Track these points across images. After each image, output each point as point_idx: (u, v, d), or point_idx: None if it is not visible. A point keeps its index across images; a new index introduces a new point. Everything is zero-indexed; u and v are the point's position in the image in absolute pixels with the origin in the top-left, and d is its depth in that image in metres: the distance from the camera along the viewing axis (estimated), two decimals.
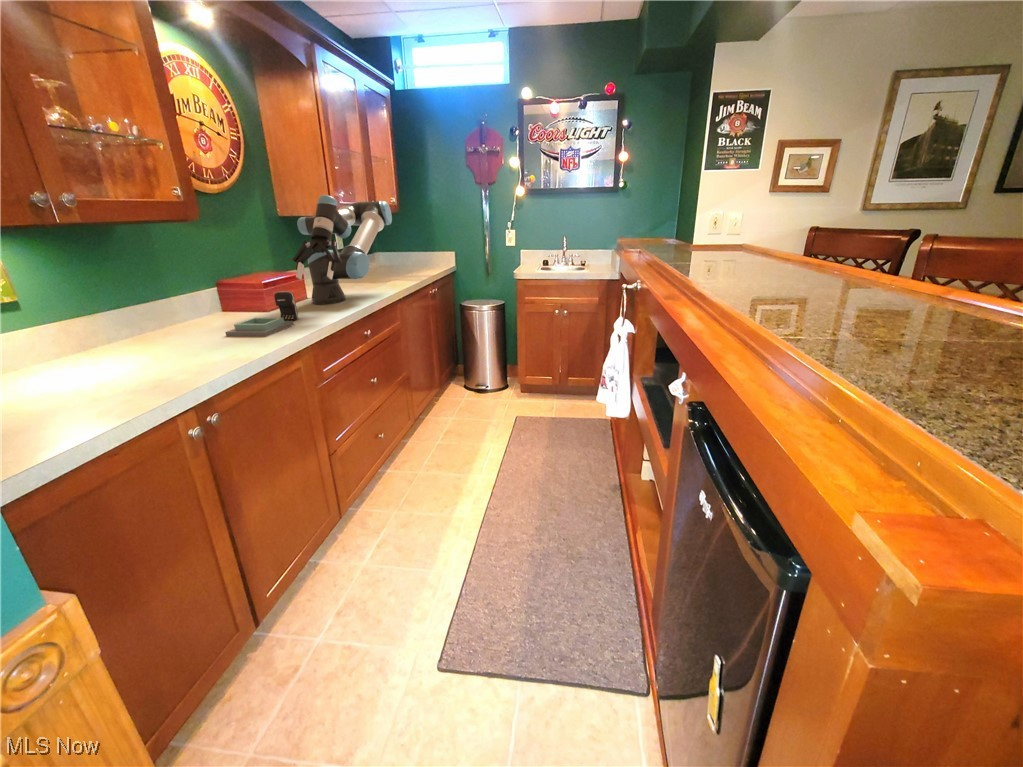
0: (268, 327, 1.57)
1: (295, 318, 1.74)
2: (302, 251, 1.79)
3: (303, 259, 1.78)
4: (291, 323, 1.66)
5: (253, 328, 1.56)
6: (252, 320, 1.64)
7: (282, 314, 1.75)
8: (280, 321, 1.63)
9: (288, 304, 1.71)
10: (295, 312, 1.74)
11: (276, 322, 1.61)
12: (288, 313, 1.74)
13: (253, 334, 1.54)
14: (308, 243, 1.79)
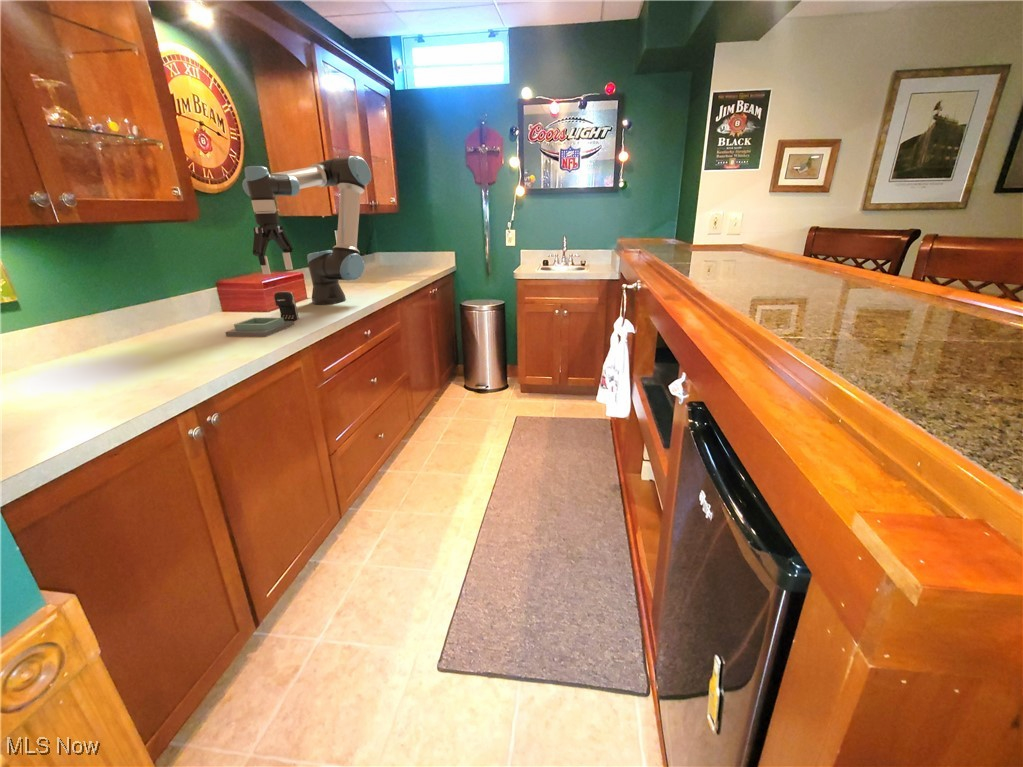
0: (268, 327, 1.57)
1: (295, 318, 1.74)
2: (281, 238, 1.70)
3: (282, 248, 1.71)
4: (291, 323, 1.66)
5: (253, 328, 1.56)
6: (252, 320, 1.64)
7: (282, 314, 1.75)
8: (280, 321, 1.63)
9: (288, 304, 1.71)
10: (295, 312, 1.74)
11: (276, 322, 1.61)
12: (288, 313, 1.74)
13: (253, 334, 1.54)
14: None
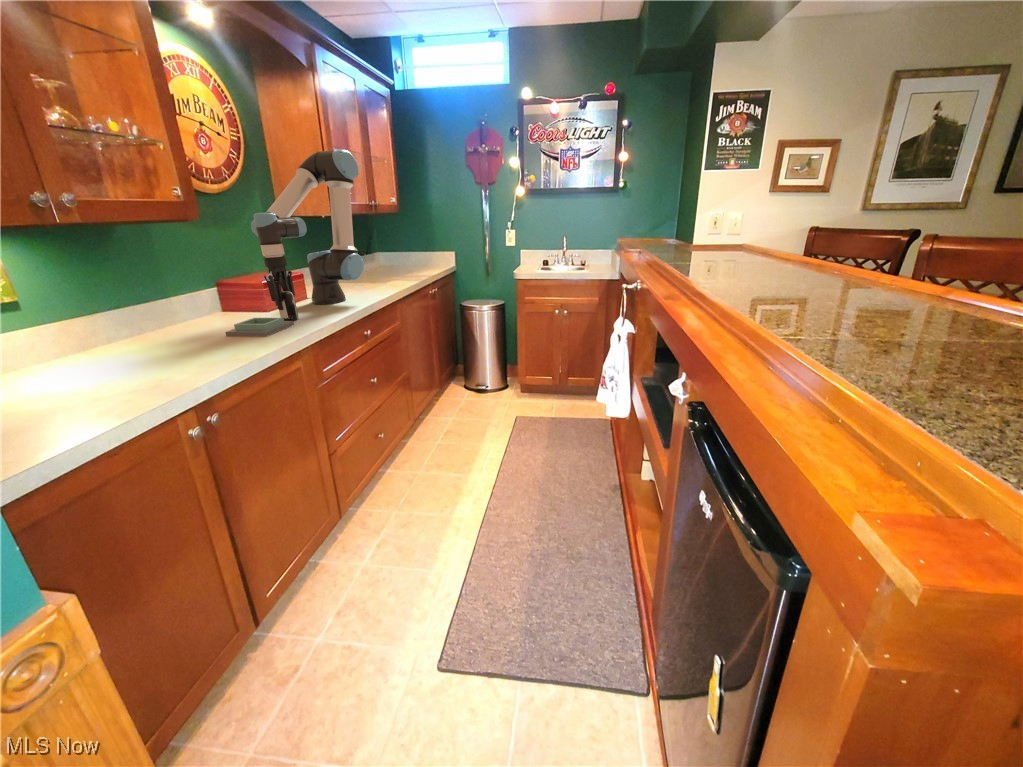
0: (268, 327, 1.57)
1: (295, 318, 1.74)
2: None
3: None
4: (291, 323, 1.66)
5: (253, 328, 1.56)
6: (252, 320, 1.64)
7: None
8: (280, 321, 1.63)
9: (288, 304, 1.71)
10: (295, 312, 1.74)
11: (276, 322, 1.61)
12: (288, 313, 1.74)
13: (253, 334, 1.54)
14: None
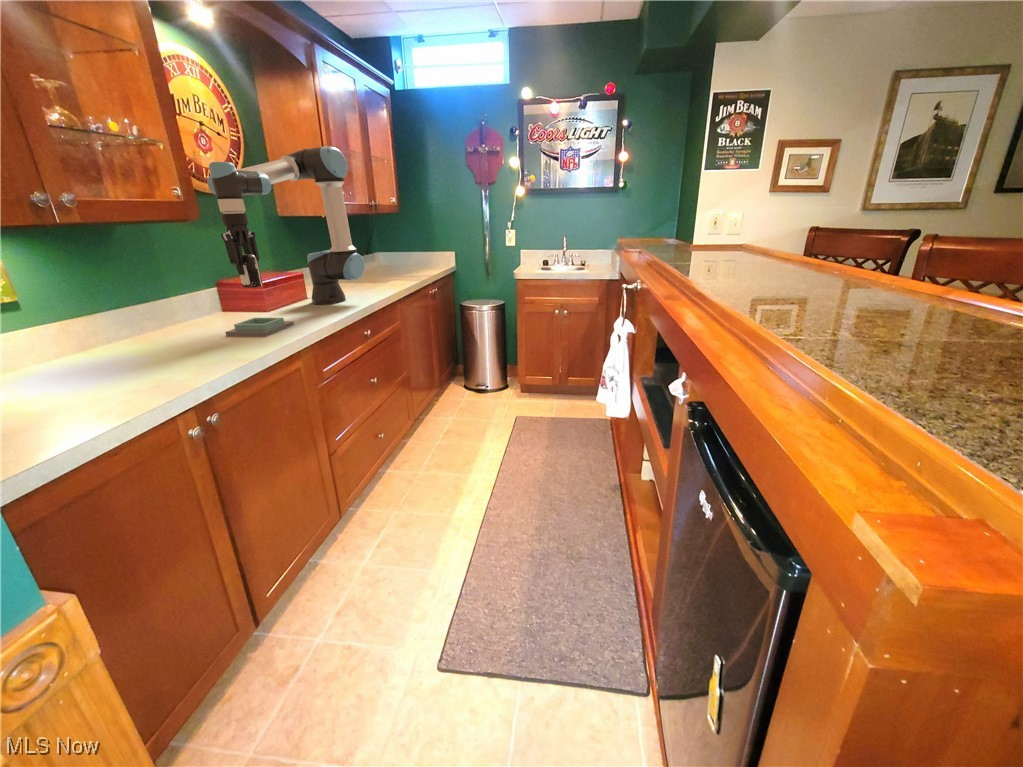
0: (268, 327, 1.57)
1: (258, 285, 1.56)
2: (249, 245, 1.56)
3: None
4: (291, 323, 1.66)
5: (253, 328, 1.56)
6: (252, 320, 1.64)
7: None
8: (280, 321, 1.63)
9: (250, 268, 1.52)
10: (258, 278, 1.55)
11: (276, 322, 1.61)
12: (251, 279, 1.56)
13: (253, 334, 1.54)
14: None
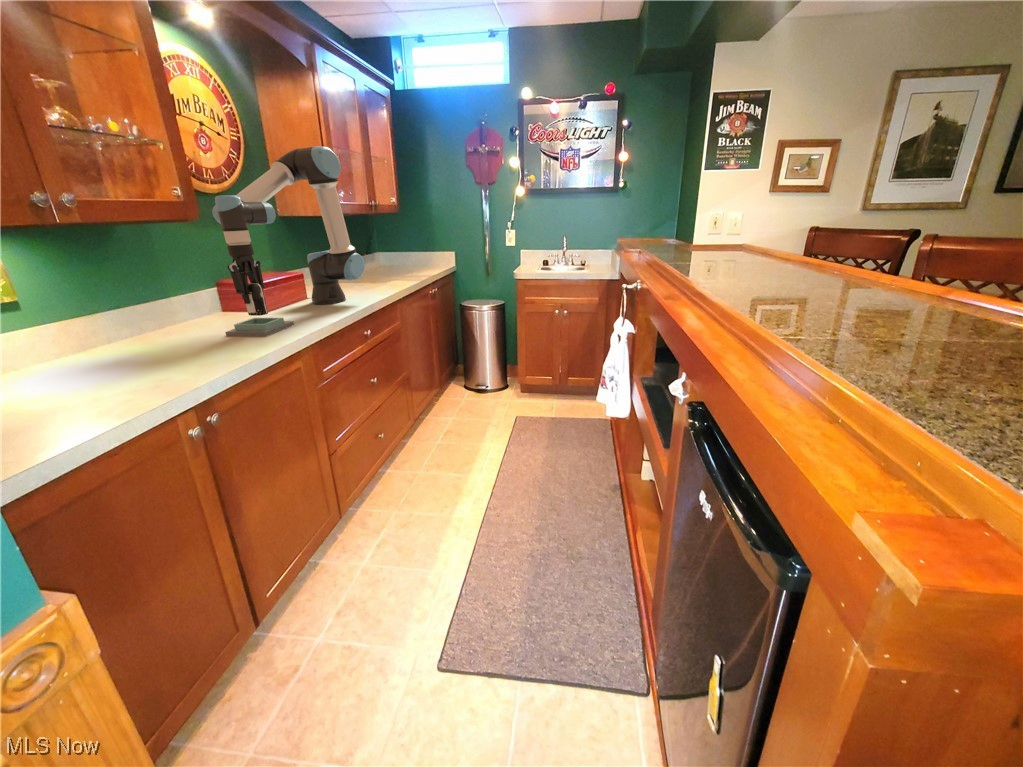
0: (268, 327, 1.57)
1: (264, 313, 1.59)
2: (254, 274, 1.59)
3: None
4: (291, 323, 1.66)
5: (253, 328, 1.56)
6: (252, 320, 1.64)
7: None
8: (280, 321, 1.63)
9: (255, 297, 1.55)
10: (264, 306, 1.58)
11: (276, 322, 1.61)
12: (256, 307, 1.59)
13: (253, 334, 1.54)
14: None
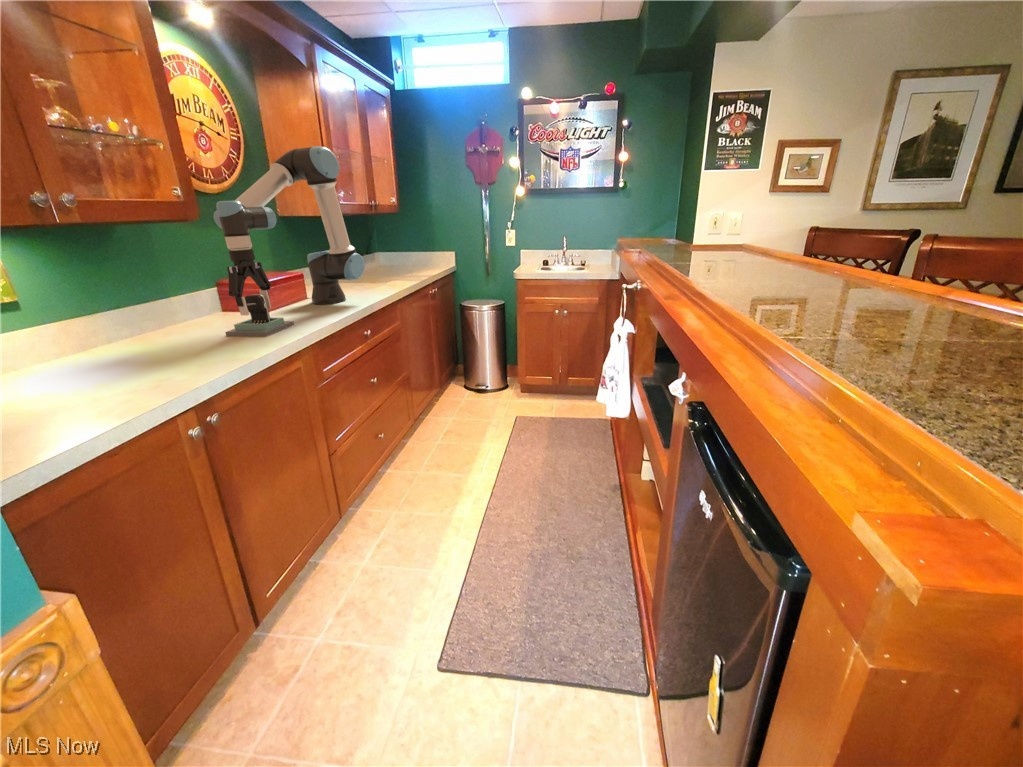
0: (268, 327, 1.57)
1: None
2: (258, 275, 1.61)
3: (259, 285, 1.61)
4: (291, 323, 1.66)
5: (253, 328, 1.56)
6: None
7: (253, 319, 1.61)
8: (280, 321, 1.63)
9: (259, 308, 1.57)
10: (267, 317, 1.60)
11: (276, 322, 1.61)
12: (260, 318, 1.60)
13: (253, 334, 1.54)
14: None
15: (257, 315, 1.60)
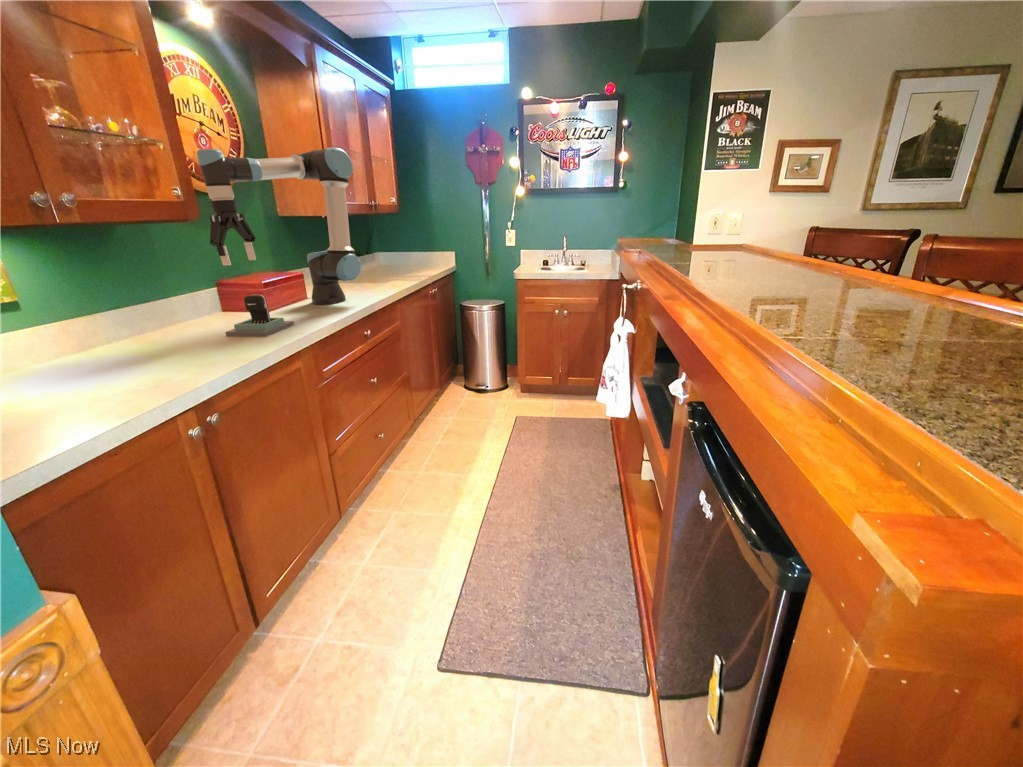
0: (268, 327, 1.57)
1: None
2: (242, 227, 1.61)
3: (244, 237, 1.62)
4: (291, 323, 1.66)
5: (253, 328, 1.56)
6: None
7: (253, 319, 1.61)
8: (280, 321, 1.63)
9: (259, 309, 1.57)
10: (267, 317, 1.60)
11: (276, 322, 1.61)
12: (260, 318, 1.60)
13: (253, 334, 1.54)
14: None
15: (257, 315, 1.60)
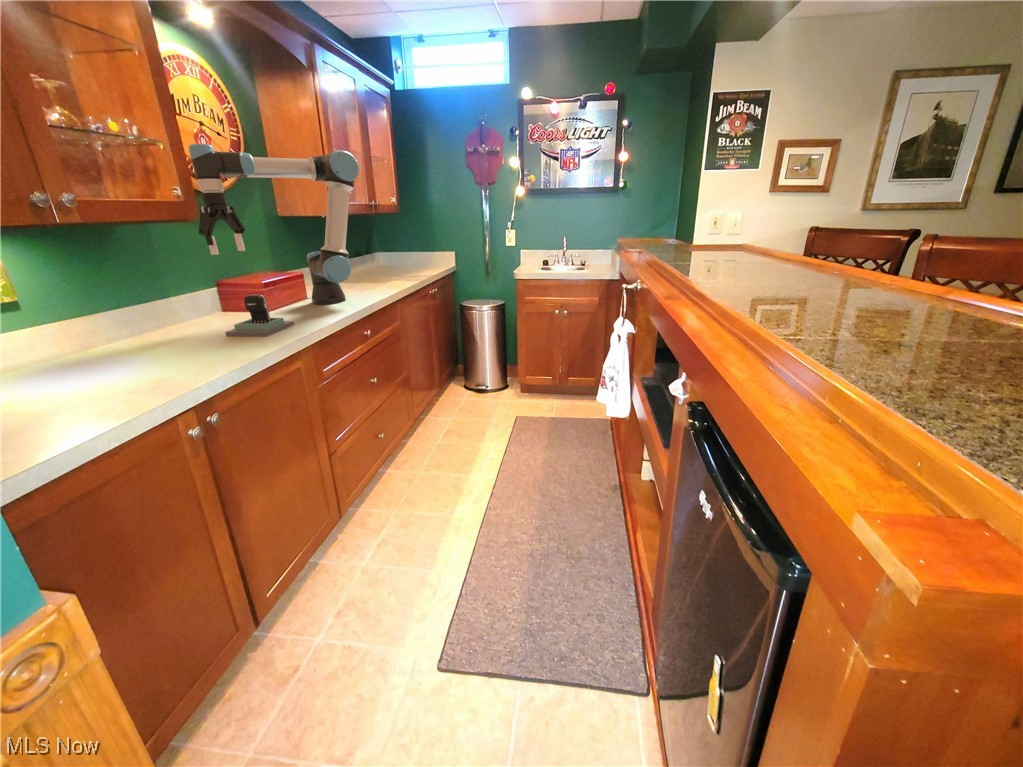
0: (268, 327, 1.57)
1: None
2: (232, 219, 1.69)
3: (233, 228, 1.70)
4: (291, 323, 1.66)
5: (253, 328, 1.56)
6: None
7: (253, 319, 1.61)
8: (280, 321, 1.63)
9: (259, 309, 1.57)
10: (267, 317, 1.60)
11: (276, 322, 1.61)
12: (260, 318, 1.60)
13: (253, 334, 1.54)
14: None
15: (257, 315, 1.60)
